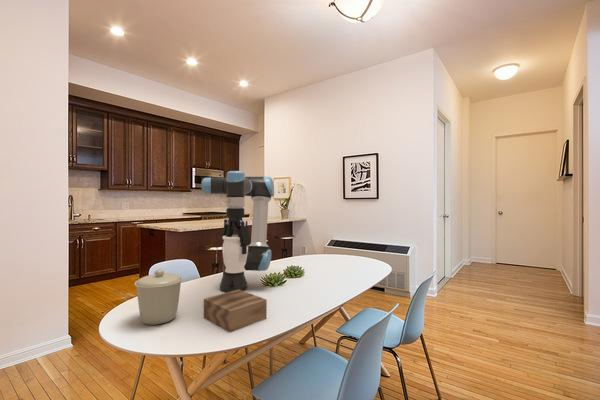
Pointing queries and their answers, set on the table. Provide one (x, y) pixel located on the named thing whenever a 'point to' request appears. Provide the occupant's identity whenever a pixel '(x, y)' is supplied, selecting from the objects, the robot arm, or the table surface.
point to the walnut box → (235, 309)
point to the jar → (232, 254)
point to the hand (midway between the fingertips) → (235, 259)
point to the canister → (158, 297)
